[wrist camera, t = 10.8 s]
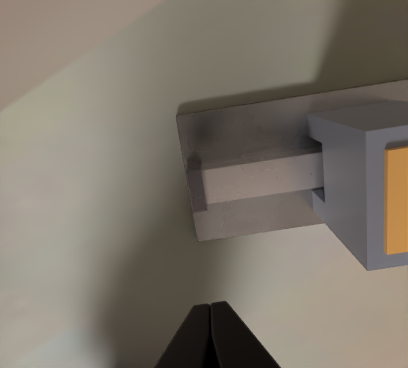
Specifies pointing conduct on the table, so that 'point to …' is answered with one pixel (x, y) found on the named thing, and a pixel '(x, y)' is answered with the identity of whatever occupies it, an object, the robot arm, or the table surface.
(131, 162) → the table surface
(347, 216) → the grey slider block
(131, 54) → the table surface
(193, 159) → the rail
